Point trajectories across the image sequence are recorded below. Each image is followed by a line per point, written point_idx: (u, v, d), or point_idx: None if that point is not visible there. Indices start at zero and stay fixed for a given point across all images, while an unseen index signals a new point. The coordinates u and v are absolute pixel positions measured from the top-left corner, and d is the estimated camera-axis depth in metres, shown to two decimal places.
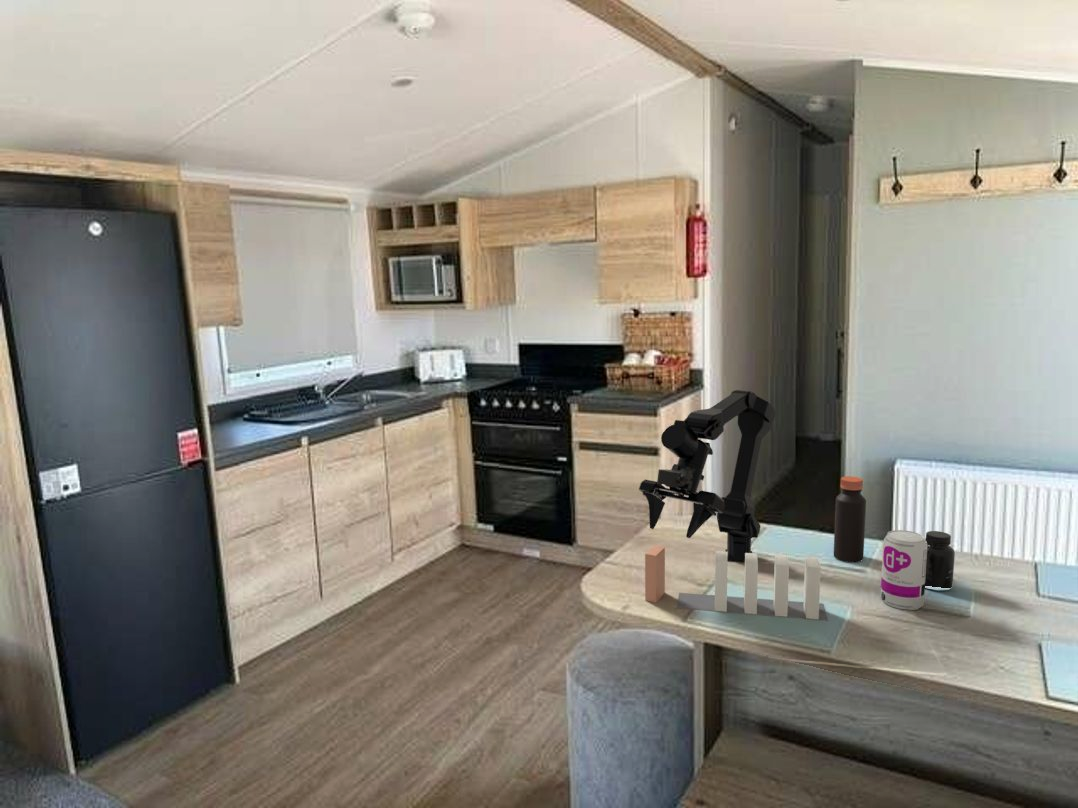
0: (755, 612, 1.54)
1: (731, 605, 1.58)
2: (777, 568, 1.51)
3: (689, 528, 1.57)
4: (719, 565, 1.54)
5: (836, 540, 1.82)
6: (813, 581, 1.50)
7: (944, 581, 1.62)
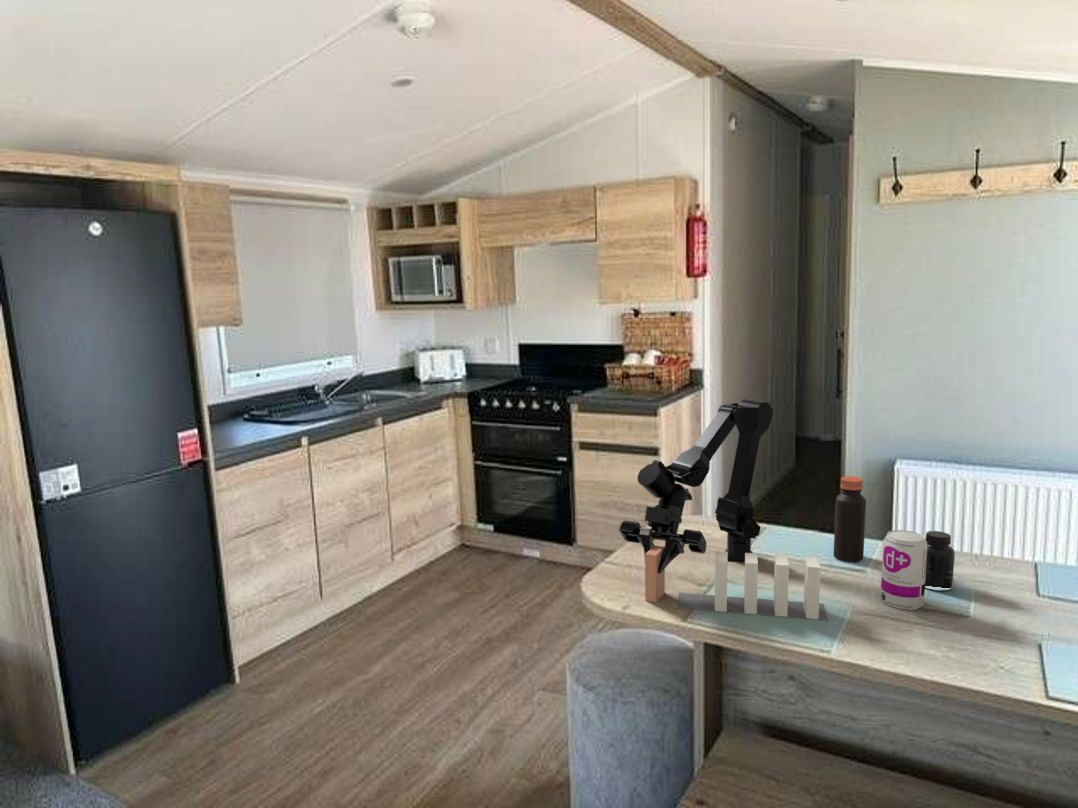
0: (755, 612, 1.54)
1: (731, 605, 1.58)
2: (777, 568, 1.51)
3: (660, 563, 1.61)
4: (719, 565, 1.54)
5: (836, 540, 1.82)
6: (813, 581, 1.50)
7: (944, 581, 1.62)
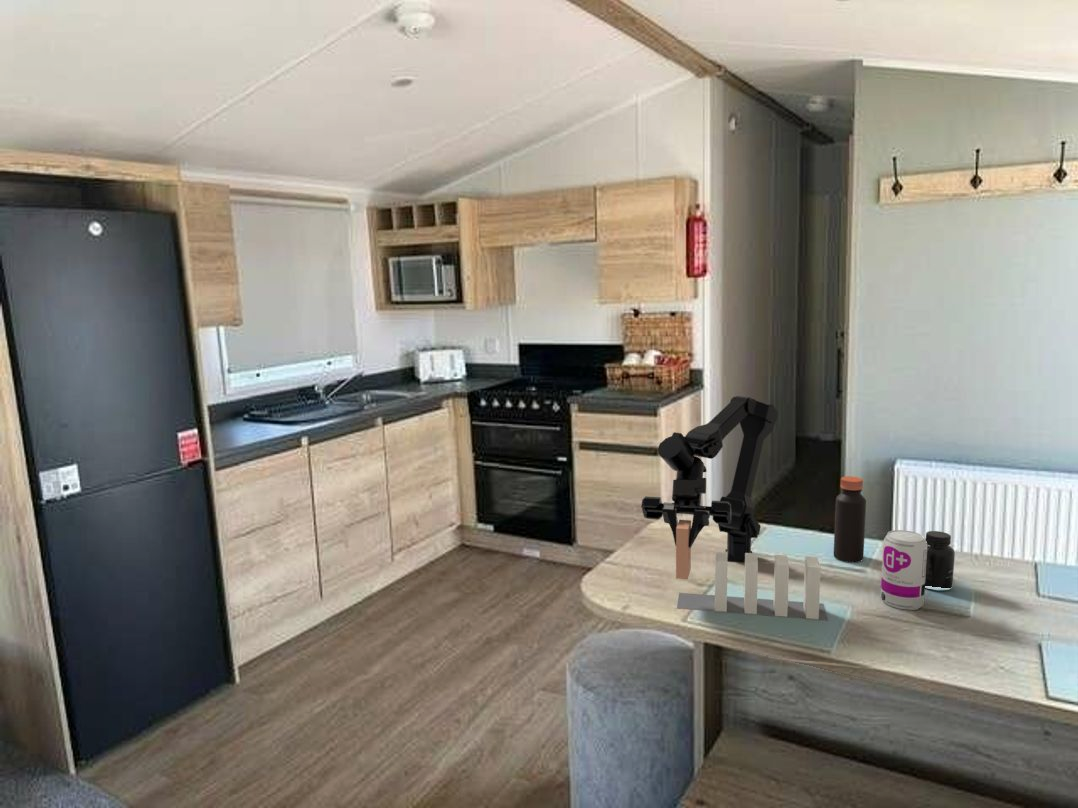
0: (755, 612, 1.54)
1: (731, 605, 1.58)
2: (777, 568, 1.51)
3: (691, 537, 1.57)
4: (719, 565, 1.54)
5: (836, 540, 1.82)
6: (813, 581, 1.50)
7: (944, 581, 1.62)
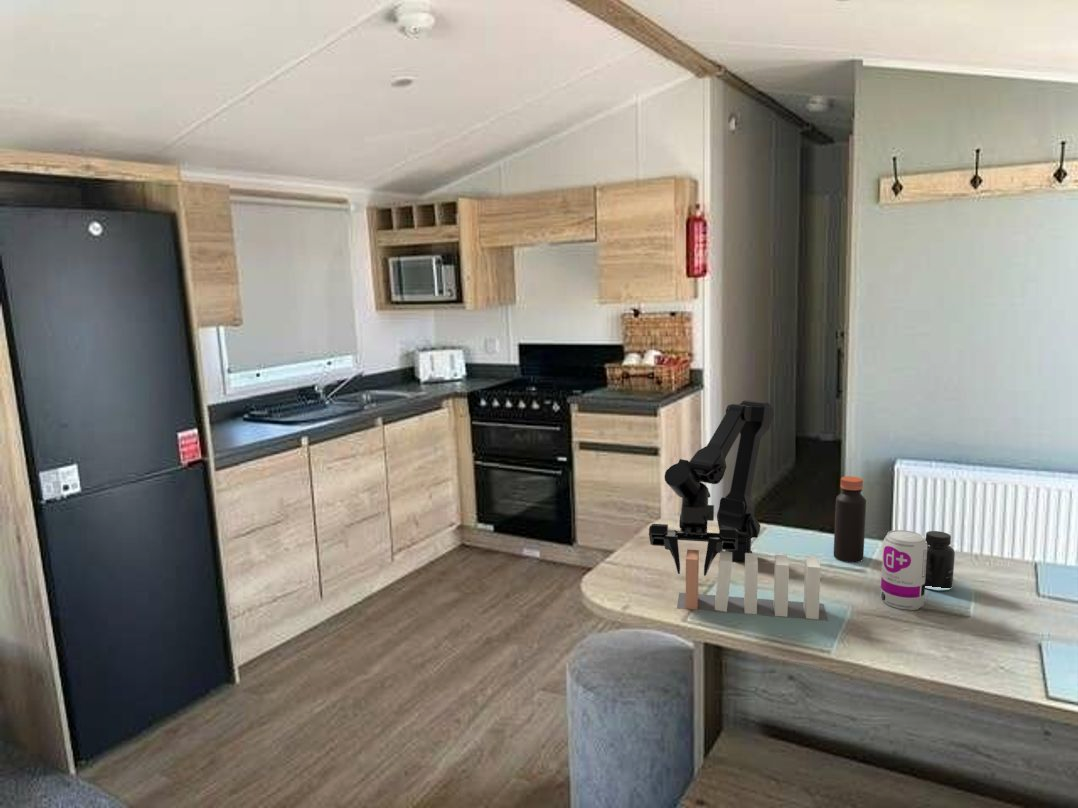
0: (755, 612, 1.54)
1: (731, 605, 1.58)
2: (777, 568, 1.51)
3: (706, 565, 1.56)
4: (724, 565, 1.53)
5: (836, 540, 1.82)
6: (813, 581, 1.50)
7: (944, 581, 1.62)
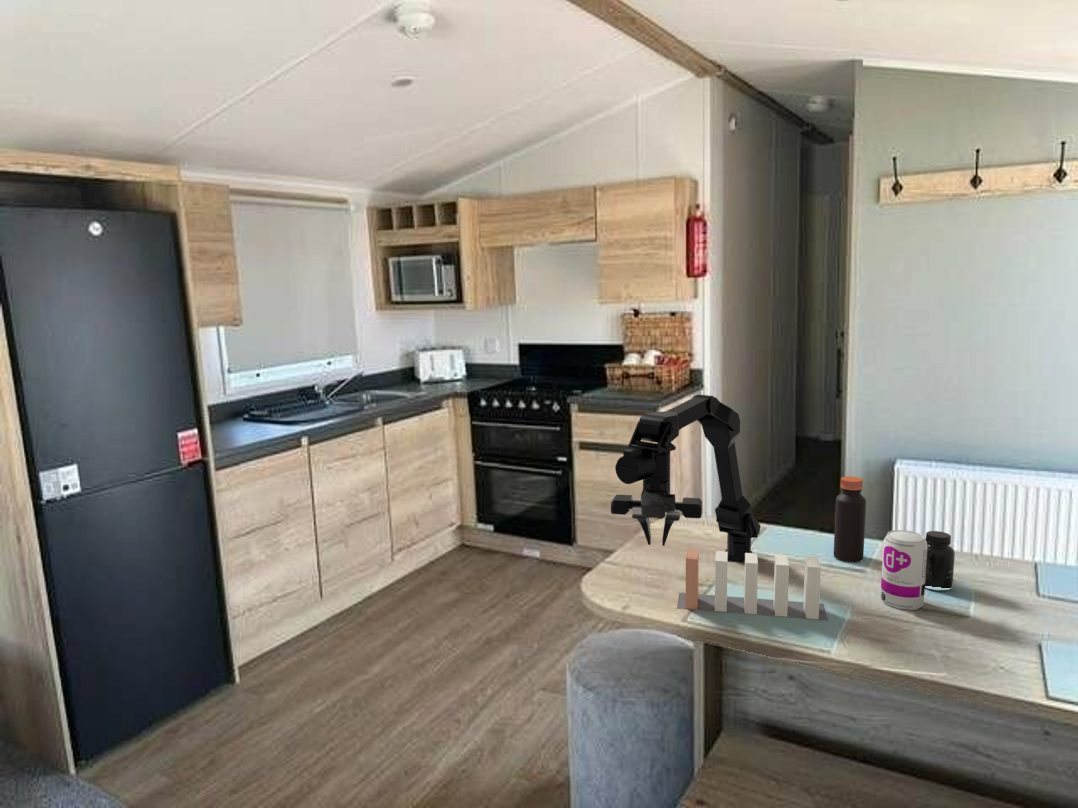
0: (755, 612, 1.54)
1: (731, 605, 1.58)
2: (777, 568, 1.51)
3: (664, 538, 1.58)
4: (719, 565, 1.54)
5: (836, 540, 1.82)
6: (813, 581, 1.50)
7: (944, 581, 1.62)
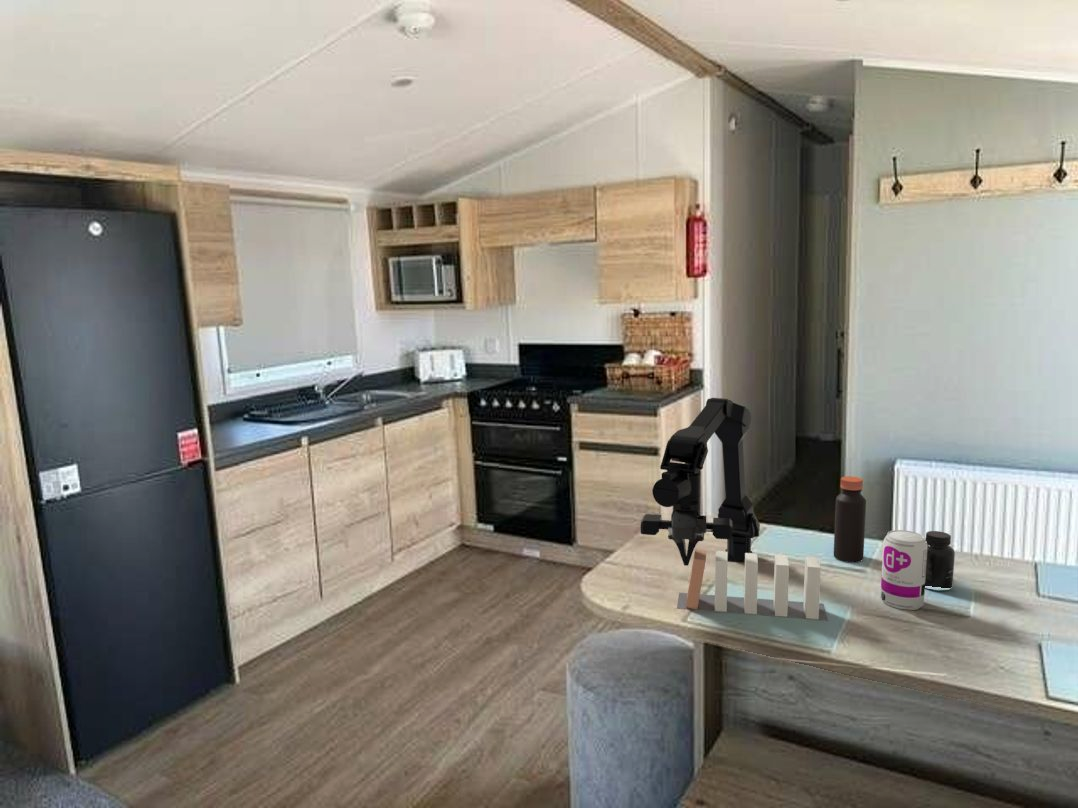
0: (755, 612, 1.54)
1: (731, 605, 1.58)
2: (777, 568, 1.51)
3: (688, 558, 1.57)
4: (719, 565, 1.54)
5: (836, 540, 1.82)
6: (813, 581, 1.50)
7: (944, 581, 1.62)
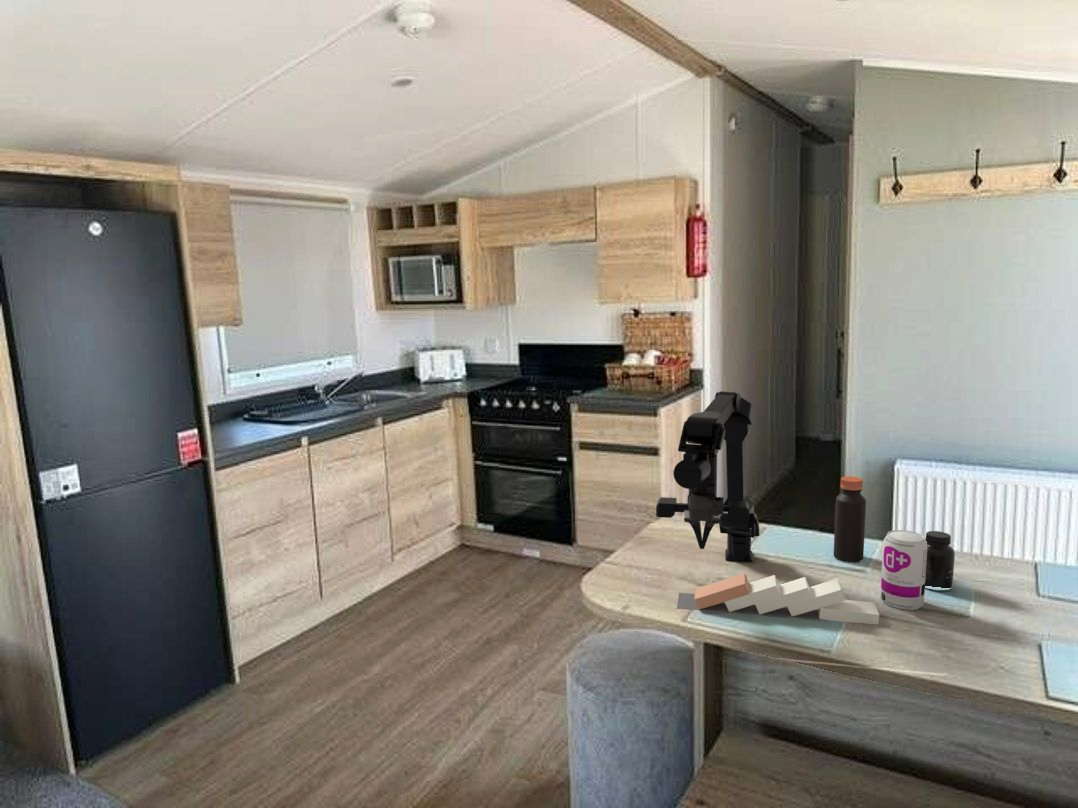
0: (760, 612, 1.53)
1: None
2: (837, 591, 1.49)
3: (704, 541, 1.56)
4: (773, 590, 1.52)
5: (836, 540, 1.82)
6: (862, 618, 1.48)
7: (944, 581, 1.62)
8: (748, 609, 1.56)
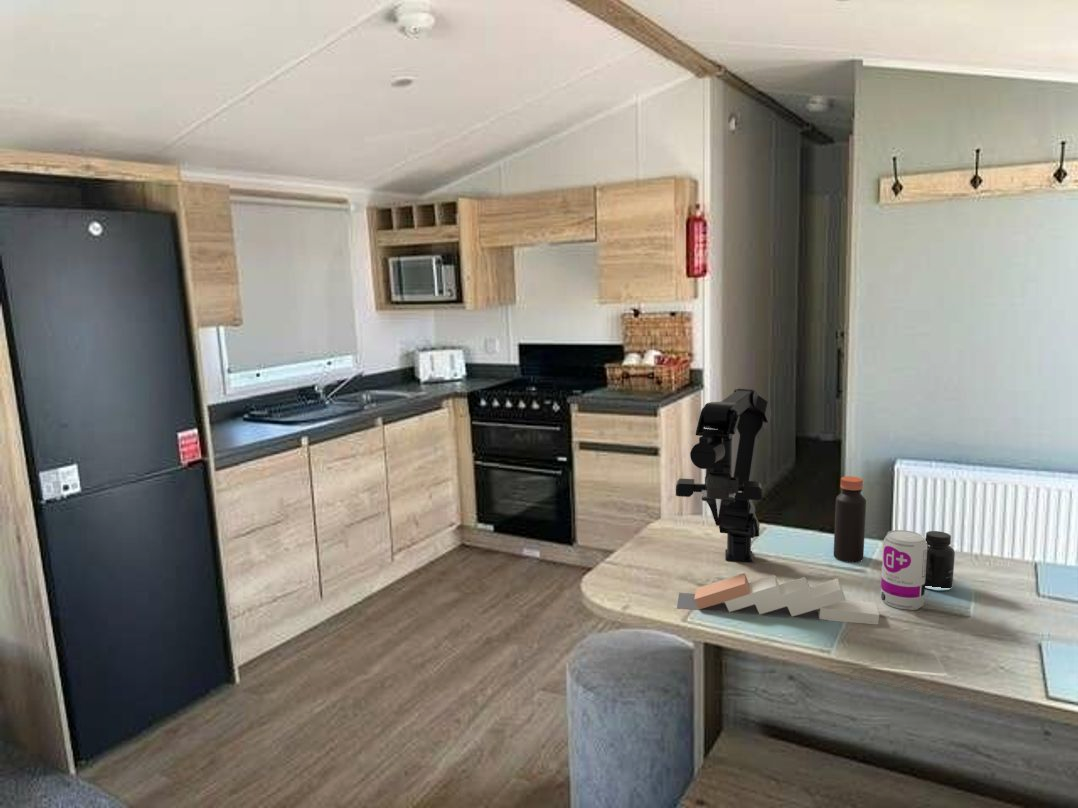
0: (760, 612, 1.53)
1: None
2: (837, 591, 1.49)
3: (719, 519, 1.69)
4: (773, 590, 1.52)
5: (836, 540, 1.82)
6: (862, 618, 1.48)
7: (944, 581, 1.62)
8: (748, 609, 1.56)
